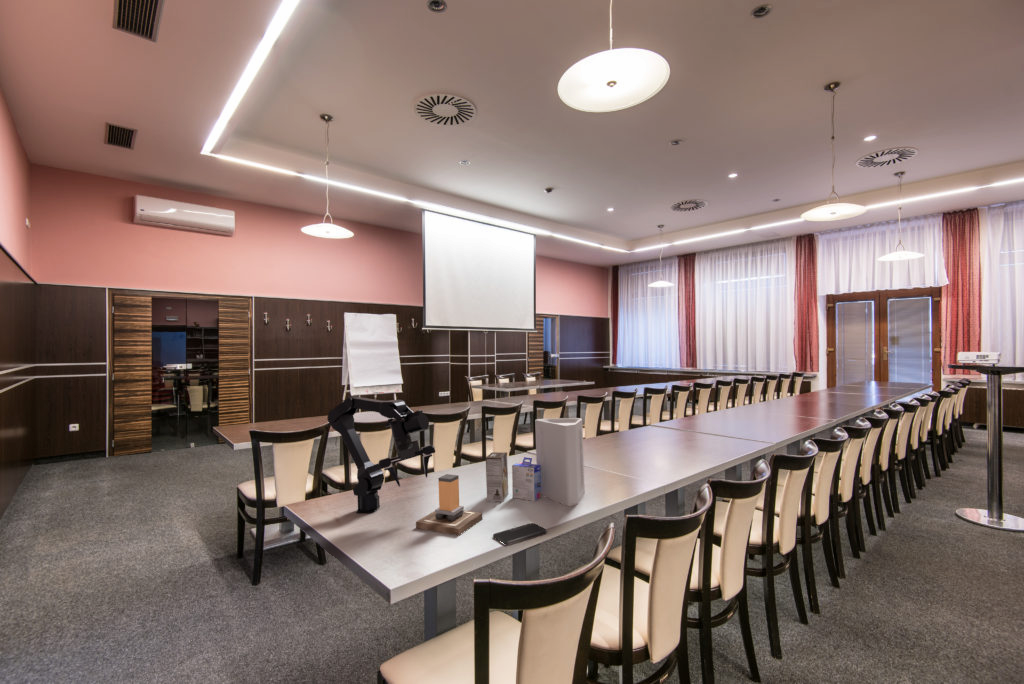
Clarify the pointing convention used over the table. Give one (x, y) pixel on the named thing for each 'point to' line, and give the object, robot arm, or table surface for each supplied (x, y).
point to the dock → (449, 523)
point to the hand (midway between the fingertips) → (413, 481)
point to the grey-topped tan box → (449, 498)
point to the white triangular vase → (561, 459)
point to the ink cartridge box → (526, 480)
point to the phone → (520, 533)
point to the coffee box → (497, 476)
